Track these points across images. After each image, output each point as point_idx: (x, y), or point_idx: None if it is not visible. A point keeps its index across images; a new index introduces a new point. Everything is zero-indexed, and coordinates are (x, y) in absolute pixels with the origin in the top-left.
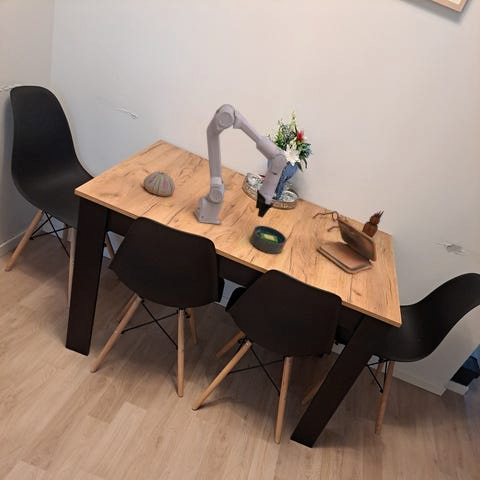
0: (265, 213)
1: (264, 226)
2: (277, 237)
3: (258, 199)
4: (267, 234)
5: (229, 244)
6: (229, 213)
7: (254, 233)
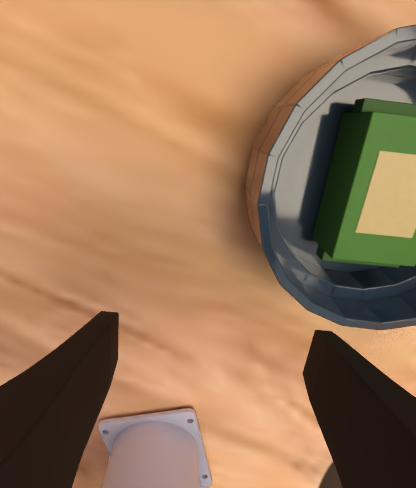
0: (377, 369)
1: (269, 221)
2: (339, 83)
3: (73, 468)
4: (354, 200)
5: None
6: (19, 342)
7: (390, 323)
